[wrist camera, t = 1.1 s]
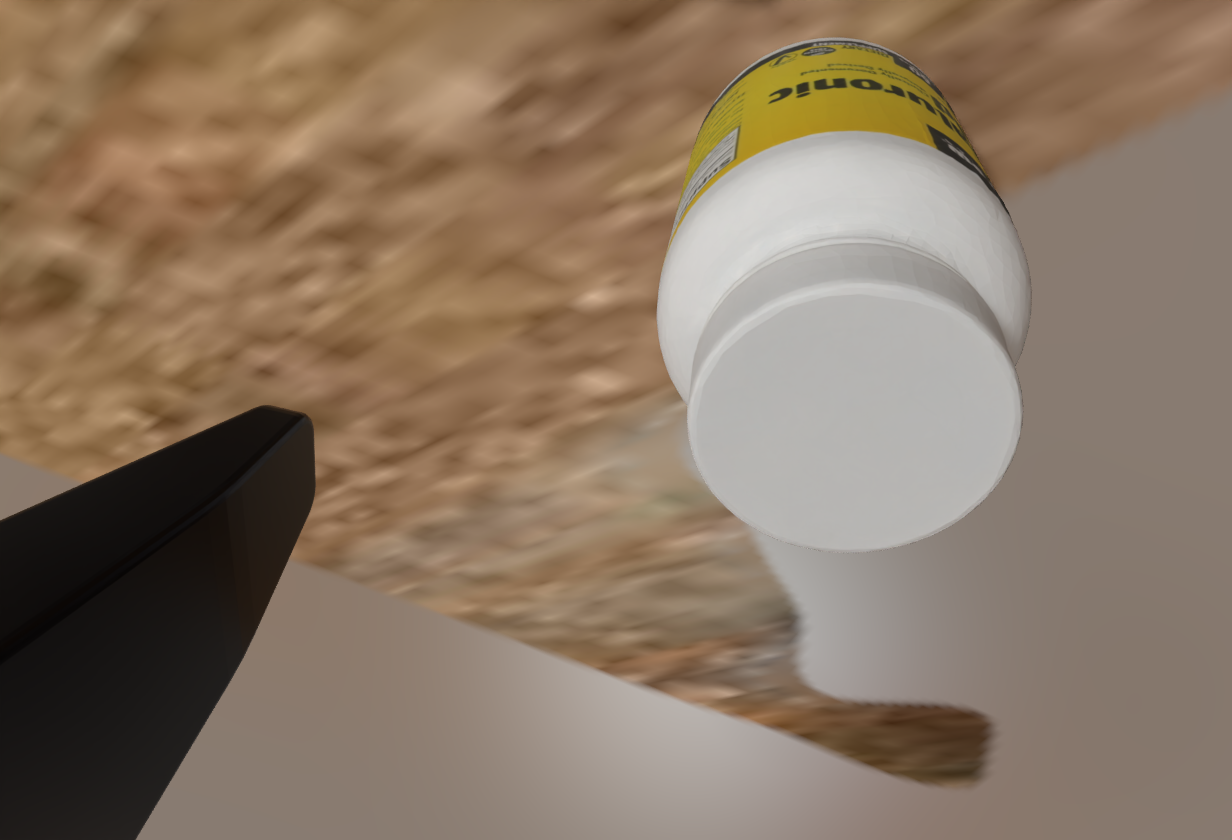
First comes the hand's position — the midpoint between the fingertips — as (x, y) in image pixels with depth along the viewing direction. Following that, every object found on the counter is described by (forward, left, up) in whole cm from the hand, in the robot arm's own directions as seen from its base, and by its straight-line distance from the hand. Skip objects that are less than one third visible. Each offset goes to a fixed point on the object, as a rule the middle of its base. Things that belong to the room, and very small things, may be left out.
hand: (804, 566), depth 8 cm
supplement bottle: (-1, +1, -13) cm, 13 cm away
